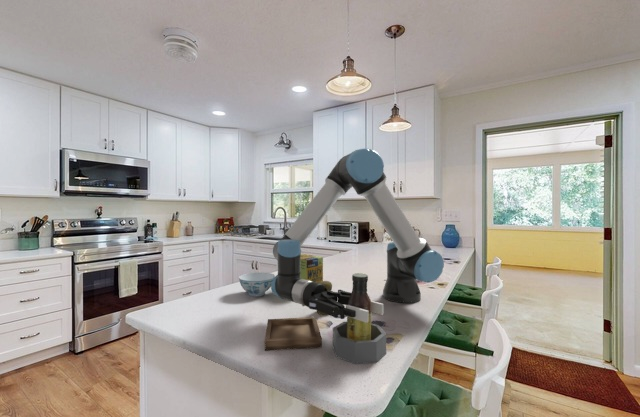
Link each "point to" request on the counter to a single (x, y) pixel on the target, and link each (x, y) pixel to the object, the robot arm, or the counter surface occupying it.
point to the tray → (292, 334)
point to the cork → (328, 287)
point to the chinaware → (256, 282)
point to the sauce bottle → (360, 300)
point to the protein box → (312, 268)
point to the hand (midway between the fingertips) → (375, 312)
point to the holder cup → (359, 345)
